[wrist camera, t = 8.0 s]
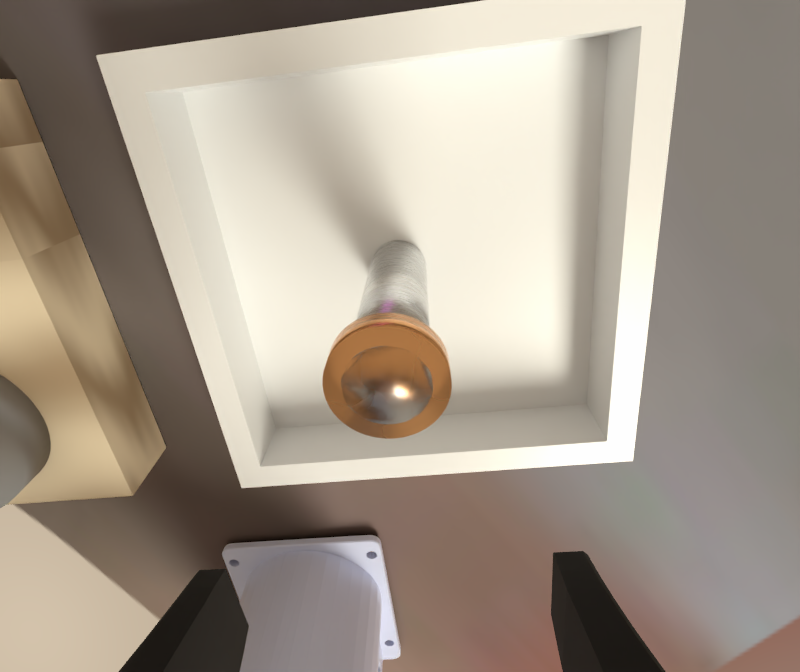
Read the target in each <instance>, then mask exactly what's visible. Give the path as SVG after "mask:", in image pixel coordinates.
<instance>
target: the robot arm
mask: <svg viewBox="0 0 800 672" xmlns="http://www.w3.org/2000/svg"><path fill="white" fill-rule="evenodd" d="M370 551H372V552H370ZM222 556H223V559H224V562H225V564H226V567H227V569H228V572H229V574H230V577H231V580H232V582H233V585H234V587H235V590H236V592H237V595H238V597H239V600H240V602H239V600H238V598H237V596H236V593H235V591H234V588H233V586H232V583H231V581H230V579H229V576H228V574H227V571H226V569H215V570H199V572H198V573H197V574H196V575H195V576H194V577H193V579H192V580H191V581H190V582H189V584H188V585H187V586H186V588H185V589H184V590H183V591H182V593H181V594H180V595H179V597H178V598H177V599H176V600H175V602H174V603H173V604H172V606H171V607H170V608H169V609H168V611H167V612H166V613H165V615H164V616H163V617H162V618H161V620H160V621H159V622H158V623H157V625H156V626H155V627H154V629H153V630H152V631H151V632H150V634H149V635H148V636H147V637H146V639H145V640H144V641H143V643H142V644H141V645H140V646H139V647H138V649H137V650H136V651H135V652H134V654H133V655H132V656H131V657H130V658H129V660H128V661H127V662H126V664H125V665H124V666H123V667H122V668H121V670H120V671H119V672H382V663H383V659H396V658H398V657H399V656H400V649H401V647H400V642H399V637H398V631H397V626H396V621H395V615H394V610H393V605H392V599H391V594H390V588H389V583H388V578H387V572H386V567H385V562H384V556H383V551H382V546H381V541H380V539H379V538H378V537H377V536H374V535H359V536H343V537H326V538H310V539H294V540H277V541H261V542H245V543H231V544H227V545H226V546H225V547H224V550H223V552H222ZM551 616H552V621H553V626H554V631H555V636H556V641H557V646H558V651H559V655H560V660H561V665H562V669H563V672H665V670H664V669H663V668H662V666H661V665H660V664H659V662H658V661H657V659H656V658H655V657H654V655H653V654H652V653H651V651H650V650H649V648H648V647H647V646H646V644H645V643H644V641H643V640H642V639H641V637H640V636H639V635H638V633H637V632H636V630H635V629H634V627H633V626H632V625H631V623H630V622H629V620H628V619H627V617H626V616H625V614H624V613H623V611H622V610H621V608H620V607H619V605H618V604H617V602H616V601H615V599H614V598H613V596H612V594H611V593H610V591H609V590H608V588H607V587H606V585H605V583H604V582H603V580H602V579H601V577H600V575H599V574H598V572H597V570H596V568H595V567H594V565H593V563H592V562H591V560H590V558H589V556H588V555H587V554H586V553H585V552H583V551H578V552H557V553H553V576H552V604H551Z"/></svg>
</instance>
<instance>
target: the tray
mask: <svg viewBox="0 0 800 672" xmlns="http://www.w3.org/2000/svg"><path fill="white" fill-rule="evenodd" d="M685 2H686V0H483V1H476V2H469V3H462V4H455V5H448V6H441V7H434V8H427V9H420V10H413V11H405V12H398V13H391V14H384V15H377V16H370V17H363V18H356V19H349V20H342V21H335V22H328V23H321V24H314V25H307V26H299V27H292V28H285V29H278V30H271V31H264V32H257V33H250V34H243V35H236V36H229V37H222V38H215V39H208V40H201V41H194V42H186V43H179V44H172V45H165V46H158V47H151V48H144V49H137V50H130V51H123V52H116V53H109V54H102V55H96V57H97V60H98V63H99V66H100V69H101V72H102V75H103V78H104V81H105V84H106V87H107V90H108V93H109V96H110V99H111V102H112V105H113V108H114V111H115V114H116V117H117V120H118V123H119V126H120V129H121V132H122V135H123V138H124V140H125V143H126V146H127V149H128V152H129V155H130V158H131V161H132V164H133V167H134V170H135V173H136V176H137V179H138V182H139V185H140V188H141V191H142V194H143V197H144V200H145V203H146V206H147V209H148V212H149V215H150V218H151V221H152V224H153V227H154V230H155V232H156V235H157V238H158V241H159V244H160V247H161V250H162V253H163V256H164V259H165V262H166V265H167V268H168V271H169V274H170V277H171V280H172V283H173V286H174V289H175V292H176V295H177V298H178V301H179V304H180V307H181V310H182V313H183V316H184V319H185V322H186V325H187V327H188V330H189V333H190V336H191V339H192V342H193V345H194V348H195V351H196V354H197V357H198V360H199V363H200V366H201V369H202V372H203V375H204V378H205V381H206V384H207V387H208V390H209V393H210V396H211V399H212V402H213V405H214V408H215V411H216V414H217V417H218V420H219V422H220V425H221V428H222V431H223V434H224V437H225V440H226V443H227V446H228V449H229V452H230V455H231V458H232V461H233V464H234V467H235V470H236V473H237V476H238V479H239V482H240V485H241V488H251V487H265V486H280V485H294V484H308V483H323V482H337V481H351V480H366V479H380V478H394V477H408V476H423V475H437V474H451V473H466V472H480V471H494V470H509V469H523V468H537V467H552V466H566V465H580V464H595V463H609V462H623V461H633V455H634V446H635V437H636V429H637V420H638V411H639V403H640V394H641V385H642V376H643V368H644V359H645V350H646V342H647V333H648V324H649V315H650V307H651V298H652V289H653V281H654V272H655V263H656V254H657V246H658V237H659V228H660V220H661V211H662V202H663V193H664V185H665V176H666V167H667V159H668V150H669V141H670V133H671V124H672V115H673V106H674V98H675V89H676V80H677V72H678V63H679V54H680V45H681V37H682V28H683V19H684V11H685ZM393 240H403V241H407V242H410V243H412V244H414V245H415V246H416V247H418V248H419V250H420V251H421V252H422V254H423V255H424V258H425V261H426V271H427V288H428V305H429V323H430V328H431V329H432V330H433V331H434V332H435V333H436V334H437V335H438V336H439V337H440V339H441V340H442V342H443V344H444V346H445V348H446V350H447V353H448V357H449V363H450V371H451V380H452V390H451V396H450V399H449V402H448V405H447V407H446V409H445V410H444V412H443V413H442V415H441V416H440V417H439V418H438V419H437V420H436V421H435V422H434V423H433V424H432V425H430V426H429V427H427V428H426V429H424V430H422V431H420V432H418V433H416V434H413V435H410V436H406V437H402V438H392V439H385V438H376V437H371V436H368V435H364V434H362V433H359V432H357V431H355V430H353V429H351V428H350V427H348V426H347V425H345V424H344V423H343V422H342V421H341V420H339V419H338V418H337V417H336V415H335V414H334V413H333V412H332V410H331V409H330V407H329V405H328V403H327V401H326V399H325V396H324V392H323V386H322V378H323V371H324V368H325V365H326V362H327V359H328V356H329V353H330V350H331V347H332V345H333V343H334V340H335V339H336V338H337V336H338V335H339V333H340V332H341V331H342V330H343V329H344V328H345V327H347V326H348V325H349V324H351V323H352V322H354V321H355V320H356V318H357V314H358V311H359V307H360V303H361V299H362V295H363V291H364V287H365V283H366V279H367V275H368V272H369V268H370V264H371V260H372V257H373V255H374V253H375V251H376V250H377V249H378V248H379V247H380V246H381V245H383V244H384V243H387V242H389V241H393Z"/></svg>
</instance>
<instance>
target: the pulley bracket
mask: <svg viewBox="0 0 800 672" xmlns="http://www.w3.org/2000/svg"><path fill="white" fill-rule="evenodd" d="M165 449H166V445H165V443H164V440H163V438H162V435H161V433H160V430H159V428H158V425H157V423H156V421H155V418H154V416H153V413H152V411H151V408H150V406H149V403H148V401H147V398H146V396H145V393H144V391H143V388H142V386H141V384H140V381H139V379H138V376H137V374H136V371H135V369H134V366H133V364H132V361H131V359H130V356H129V354H128V351H127V349H126V346H125V344H124V342H123V339H122V337H121V334H120V332H119V329H118V327H117V324H116V322H115V319H114V317H113V314H112V312H111V309H110V307H109V305H108V302H107V300H106V297H105V295H104V292H103V290H102V287H101V285H100V282H99V280H98V277H97V275H96V272H95V270H94V268H93V265H92V263H91V260H90V258H89V255H88V253H87V250H86V248H85V245H84V243H83V240H82V238H81V235H80V233H79V231H78V228H77V226H76V223H75V221H74V218H73V216H72V213H71V211H70V208H69V206H68V203H67V201H66V198H65V196H64V193H63V191H62V189H61V186H60V184H59V181H58V179H57V176H56V174H55V171H54V169H53V166H52V164H51V161H50V159H49V156H48V154H47V152H46V149H45V147H44V144H43V142H42V139H41V137H40V134H39V132H38V129H37V127H36V124H35V122H34V119H33V117H32V115H31V112H30V110H29V107H28V105H27V102H26V100H25V97H24V95H23V92H22V90H21V87H20V85H19V82H18V80H17V79H0V508H1V507H3V506H5V505H7V504H22V503H36V502H51V501H65V500H79V499H94V498H108V497H122V496H133V495H134V494H135V492H136V491H137V489H138V488H139V486H140V485H141V483H142V482H143V481H144V479H145V478H146V476H147V475H148V473H149V472H150V471H151V469H152V468H153V466H154V465H155V463H156V462H157V460H158V459H159V458H160V456H161V455H162V453H163V452H164V450H165Z"/></svg>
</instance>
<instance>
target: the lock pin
mask: <svg viewBox="0 0 800 672" xmlns="http://www.w3.org/2000/svg"><path fill="white" fill-rule="evenodd" d="M322 386H323V392H324V396H325V399H326V401H327V403H328V405H329V407H330V409H331V410H332V412H333V413H334V414H335V415H336V417H337V418H338V419H339V420H341V421H342V422H343V423H344V424H345V425H347V426H348V427H350V428H351V429H353V430H355V431H357V432H359V433H362V434H364V435H368V436H371V437H376V438H385V439H392V438H402V437H406V436H410V435H413V434H416V433H418V432H420V431H422V430H424V429H426V428H427V427H429V426H430V425H432V424H433V423H434V422H435V421H436V420H437V419H438V418H439V417H440V416H441V415H442V413H443V412H444V410H445V409H446V407H447V405H448V402H449V399H450V396H451V390H452V380H451V371H450V363H449V357H448V353H447V350H446V348H445V346H444V344H443V342H442V340H441V339H440V337H439V336H438V335H437V334H436V333H435V332H434V331H433V330H432V329H431V328H430V323H429V305H428V288H427V271H426V261H425V258H424V255H423V254H422V252H421V251H420V250H419V248H418V247H416V246H415V245H414V244H412V243H410V242H407V241H403V240H393V241H389V242H387V243H384V244H383V245H381V246H380V247H379V248H378V249H377V250H376V251H375V253H374V255H373V257H372V260H371V264H370V268H369V272H368V275H367V279H366V283H365V287H364V291H363V295H362V299H361V303H360V307H359V311H358V314H357V318H356V320H355V321H354V322H352V323H351V324H349V325H348V326H347V327H345V328H344V329H343V330H342V331H341V332H340V333H339V335H338V336H337V338H336V339H335V340H334V343H333V345H332V347H331V350H330V353H329V356H328V359H327V362H326V365H325V368H324V371H323V378H322Z"/></svg>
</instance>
